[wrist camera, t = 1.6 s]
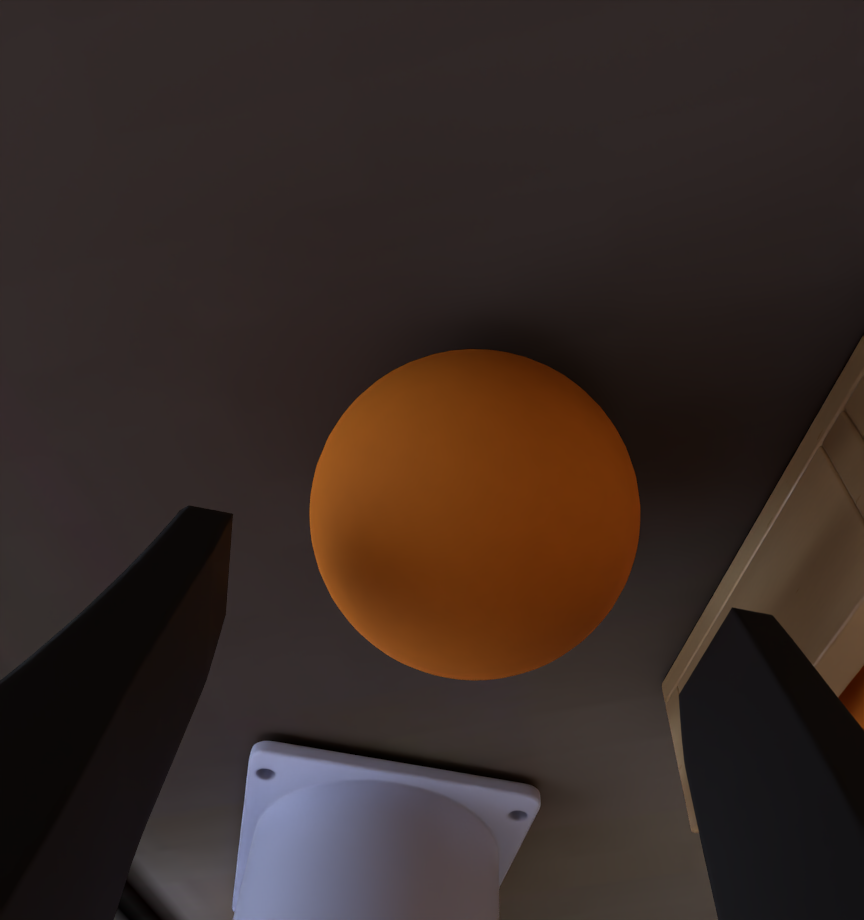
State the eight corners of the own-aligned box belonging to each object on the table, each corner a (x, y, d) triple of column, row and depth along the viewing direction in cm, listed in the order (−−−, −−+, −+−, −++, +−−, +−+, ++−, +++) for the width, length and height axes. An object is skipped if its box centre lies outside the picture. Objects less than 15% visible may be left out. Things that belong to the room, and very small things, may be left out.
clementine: (570, 549, 18) (596, 775, 13) (320, 501, 17) (264, 718, 13) (660, 328, 14) (733, 530, 10) (357, 263, 14) (299, 445, 10)
